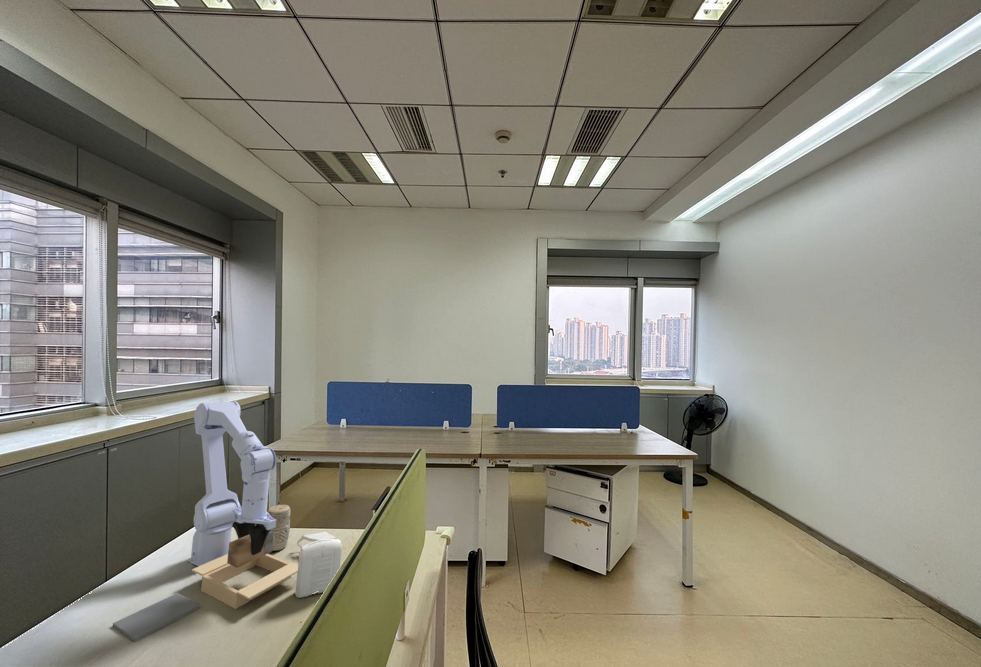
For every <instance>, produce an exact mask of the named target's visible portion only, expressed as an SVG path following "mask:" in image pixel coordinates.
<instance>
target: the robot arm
mask: <svg viewBox="0 0 981 667" xmlns="http://www.w3.org/2000/svg"><path fill="white" fill-rule="evenodd" d="M241 413H242V412H241V406H240V404H239V402H238V401H236V400H232V401H222V402H208V403H205V402H202V403H199V404H198V405H197V407H196V408H195V411H194V414H193V418H194V419H193V420H194V430H195V434H196V435H199V436H201V444H202V445H201V446H202V457H203V467H204V468H203V470H204V482H205V495H204V496H203V497H202V498H201V499H199V501H198V502H196V504H195V505H194V515H193V526H194V529H195V530H196V531H195V532H194V534H193V536H192V544H191V554H190V555H191V556H190V557H188V558H187V562H188V563H191V564H192V565H195V566H196V567H199V566H201V565H203V564H205V563H208V562H210V561H212V560H215V559H217V558H219V557H222V556H224V555H226V554H228V549H229V542H232V541H231V540H232V530H233V529H234V531H235V533H236V535H237V539H239V538H242V537H244V536H247V535H249V534H250V538H251V553H252V555H255V554H257V553H260V552H261V550H262V547H263V544H264V542H265V539H266V537H267V535H268V533H269V532H270V530H271V529H272V528H275V527H276V519H273V518H272V517H271V516H270V514H269V513H268V512H267V511H268V510H267V509H268V500H269V489H270V480H271V478H270V476H271V471H272V470H274V468H275V467H276V464H277V456H276V452H275V451H274V449H273V448H272V447H268V446H265V445H263V443H262V442H261V441H260V439H259V437H258V436H257V435H256V434H255V432H253V431H251V430H247V428H246V426H245V425H244V423H243V421H242V419H241ZM226 432H227V433H228V435H229V436H230V437H231V438H232V441H231V447H232V448H233V449H234V451H235V453H236V454H237V455H238V457H239V458H240V470H241V480H242V481H243V489H242V500H241V503H240V502H239V498H238V494H237V493H236V492H233V491H231V490H229V489H228V482H227V480H228V479H227V471H226V459H225V448H224V438H223V436H224V433H226ZM219 502H220V503H219ZM214 503H216V504H214ZM211 504H212V505H211Z"/></svg>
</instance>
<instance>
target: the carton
mask: <svg viewBox="0 0 981 667" xmlns="http://www.w3.org/2000/svg"><path fill="white" fill-rule="evenodd" d="M227 560H228V554H226V555H224V556H222V557H219V558H217V559H215V560H212V561H210V562H208V563H205V564H203V565H201V566H199V567H198V566H196V567H194V568H192V569H191V571H192V572H194V573H196V574H197V575H199V576H202V577H201V585H200V586H201V587H200V591H201V592H203V593H205V594H207V595H208V596H210V597H212V598H214V599H216V600H217V601H219V602H221V601H222V603H223V602H224V604H225V605H227V606H229V607H231V608H233V609H235V610H237V609H238V608H240V607H241V606H242V607H243V606H244V605H245V604H247V603H249V602H251V601H252V600H254V599H256V598H258V597H259V596H261V595H263V594H265V593H266V592H269V591H270V590H272V589H273V588H275V587H277V586H279V585H280V584H282V583H284V582H285V581H288V580H289V579H291V578H292V576H294V575H295V574H297V572H298V563H295V562H289V561H287V560H284V559H281V558H280V557H277V556H274V555H272V554H270V553H268V554H266V555H263V556H261V557H259V558H257V559H255V560H253V561H251V562H249V563H246V564H244V565H242V566H240V567H238V568H237V567H234V566H232V565H230V564H228V563H227ZM255 565H256V566H258V565H259V566H258V567H260V566H261V567H260V568H263V569H265V568H266V570H267V569H268V570H267V571H269V570H270V572H271V573H269V574H267V575H265V576H263V577H262V578H259V579H258V580H256V581H253V582H252V583H250V584H249V585H246V586H245V587H242V588H241V589H238V590H237V589H236V588H234V587H233V586H230V585H227V584H226V583H223V582H225V581H227V580H230V579H231V578H233V577H236V576H237V575H239V574H242V573H244V572H246V571H248V570H250V569H252V568H254V567H256V566H255ZM272 571H273V572H272ZM250 600H251V601H250Z"/></svg>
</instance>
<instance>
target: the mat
mask: <svg viewBox="0 0 981 667" xmlns="http://www.w3.org/2000/svg"><path fill="white" fill-rule="evenodd" d="M199 608H201V605H200V604H198V602H195V601H193V600H192V599H190V598H188V597H186V596H184V595H183V594H181V593H179V592H177V593H175V594H173V595H170V596H168V597H166V598H164V599H162V600H159V601H157V602H155V603H153V604H150V605H149V606H146V607H145V608H142V609H140V610H138V611H136V612H134V613H132V614H129V615H128V616H125V617H123V618H121V619H119V620H117V621H114V622H113V623H112V627H113V628H115V629H116V630H118V631H119V632H120V633H121V634H123V635H124V636H126V637H128V638H129V639H130V640H131V641H133V642H134V643H135V642H137V641H139V640H141V639H143V638H144V637H147V636H149V635H150V634H152V633H154V632H156V631H158V630H160V629H162V628H164V627H166V626H167V625H170V624H171V623H174V622H175V621H177V620H179V619H181V618H182V617H184V616H186V615H189V614H191V613H192V612H195V611H197V610H199Z"/></svg>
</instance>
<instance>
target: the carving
mask: <svg viewBox="0 0 981 667" xmlns="http://www.w3.org/2000/svg"><path fill="white" fill-rule="evenodd" d="M267 509H268V510H267V512H268V513H269V514H270V516H271V517H272V518H273V519H276V527H275V528H272V529H271V530H270V531H273V544H272V552H273V551H281V550H282V549H284V548H286V546H287V544H288V541H289V536H290V535H289V534H290V530H291V525H290V524H291V507H290V506H289V505H288V504H275V505H274V506H271V507H269V508H267Z"/></svg>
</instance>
